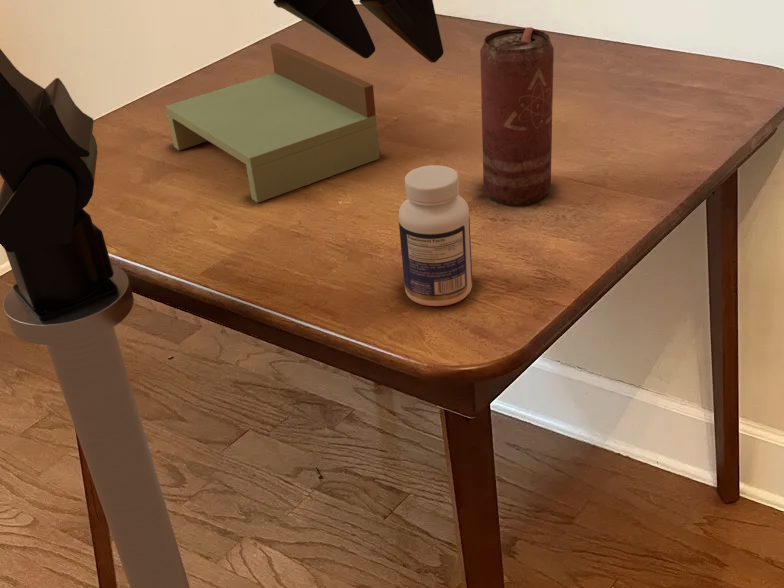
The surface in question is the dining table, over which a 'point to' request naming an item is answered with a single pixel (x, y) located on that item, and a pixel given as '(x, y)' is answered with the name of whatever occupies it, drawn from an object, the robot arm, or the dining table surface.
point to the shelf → (285, 123)
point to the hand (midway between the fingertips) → (402, 56)
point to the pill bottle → (435, 237)
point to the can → (517, 115)
